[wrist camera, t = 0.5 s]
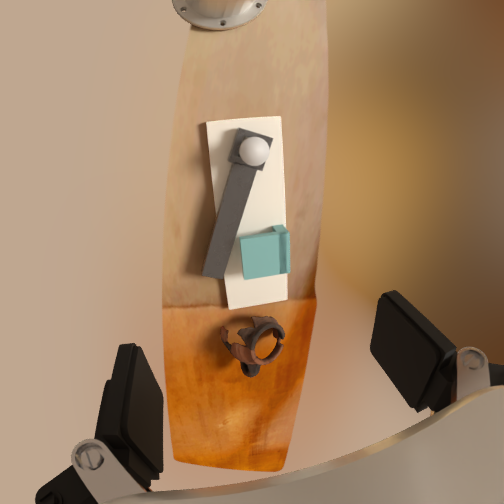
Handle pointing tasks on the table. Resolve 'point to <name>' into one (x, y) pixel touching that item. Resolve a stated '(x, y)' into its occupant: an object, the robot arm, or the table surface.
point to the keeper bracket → (265, 253)
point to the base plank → (251, 201)
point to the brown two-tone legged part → (250, 336)
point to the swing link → (231, 207)
